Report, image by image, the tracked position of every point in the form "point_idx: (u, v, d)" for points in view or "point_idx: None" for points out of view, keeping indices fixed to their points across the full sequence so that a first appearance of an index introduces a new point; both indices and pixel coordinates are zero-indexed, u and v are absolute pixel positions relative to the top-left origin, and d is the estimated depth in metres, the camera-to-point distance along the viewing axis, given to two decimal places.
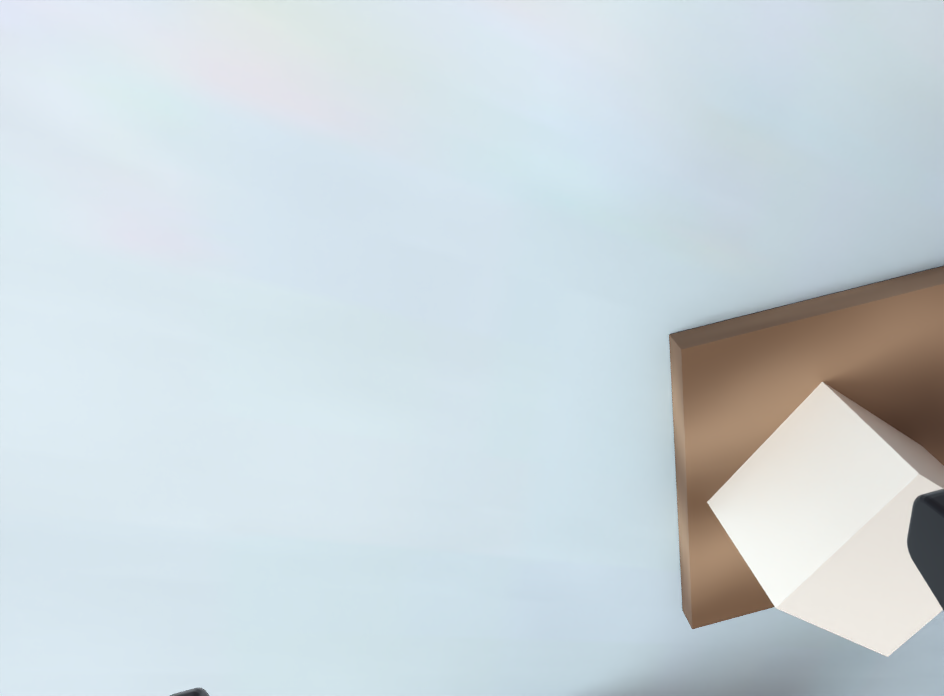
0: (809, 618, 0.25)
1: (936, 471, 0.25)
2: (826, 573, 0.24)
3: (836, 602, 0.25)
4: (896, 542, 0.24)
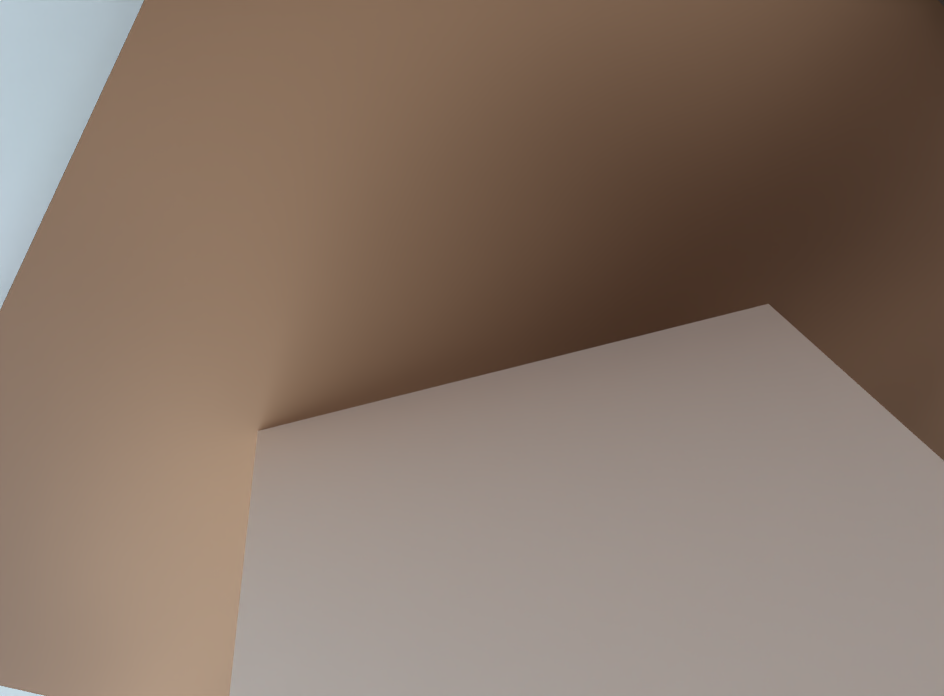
0: None
1: (630, 562, 0.06)
2: None
3: None
4: None
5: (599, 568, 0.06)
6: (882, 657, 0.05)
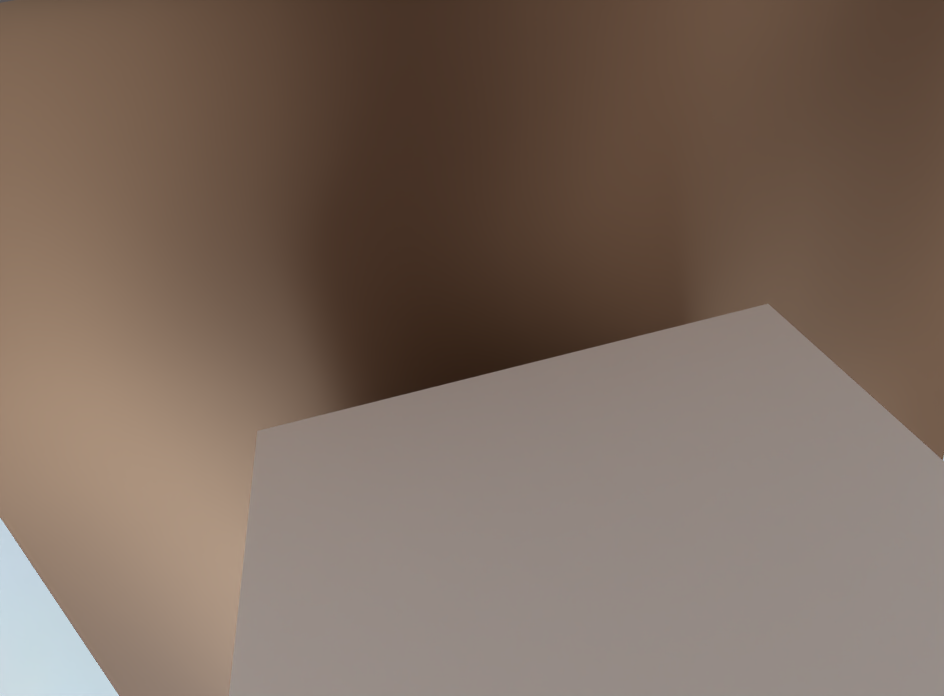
0: None
1: (629, 562, 0.06)
2: None
3: None
4: None
5: (598, 568, 0.06)
6: (881, 657, 0.05)
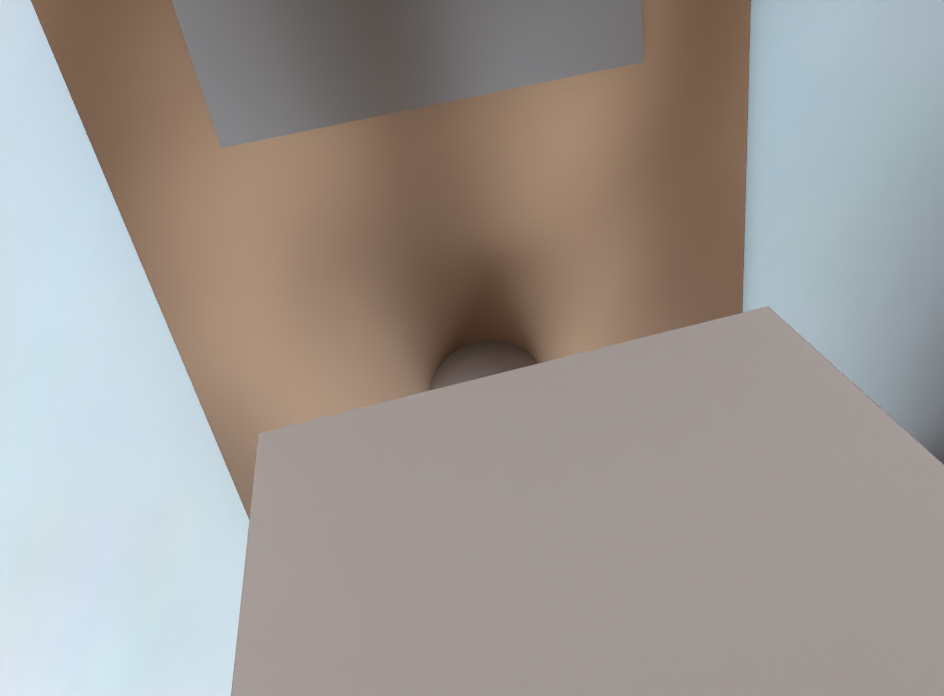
0: None
1: (630, 565, 0.06)
2: None
3: None
4: None
5: (599, 571, 0.06)
6: (881, 660, 0.05)
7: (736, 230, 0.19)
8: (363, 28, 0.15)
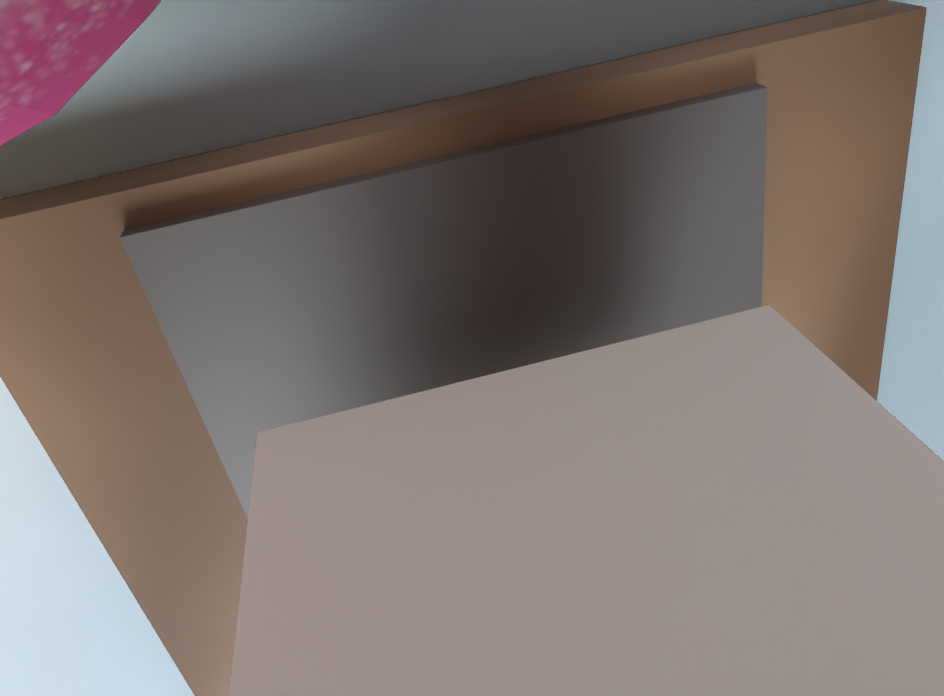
0: None
1: (631, 564, 0.06)
2: None
3: None
4: None
5: (600, 571, 0.06)
6: (884, 661, 0.05)
7: None
8: None
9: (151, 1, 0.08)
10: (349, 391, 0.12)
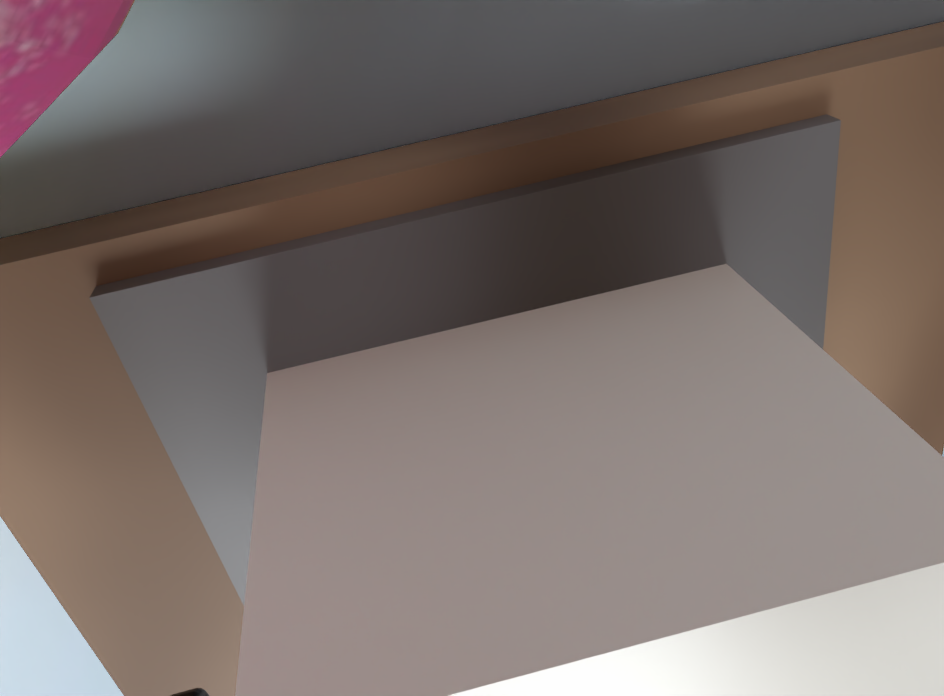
0: None
1: (591, 468, 0.07)
2: None
3: None
4: None
5: (564, 473, 0.07)
6: (795, 532, 0.06)
7: None
8: None
9: (101, 35, 0.06)
10: None
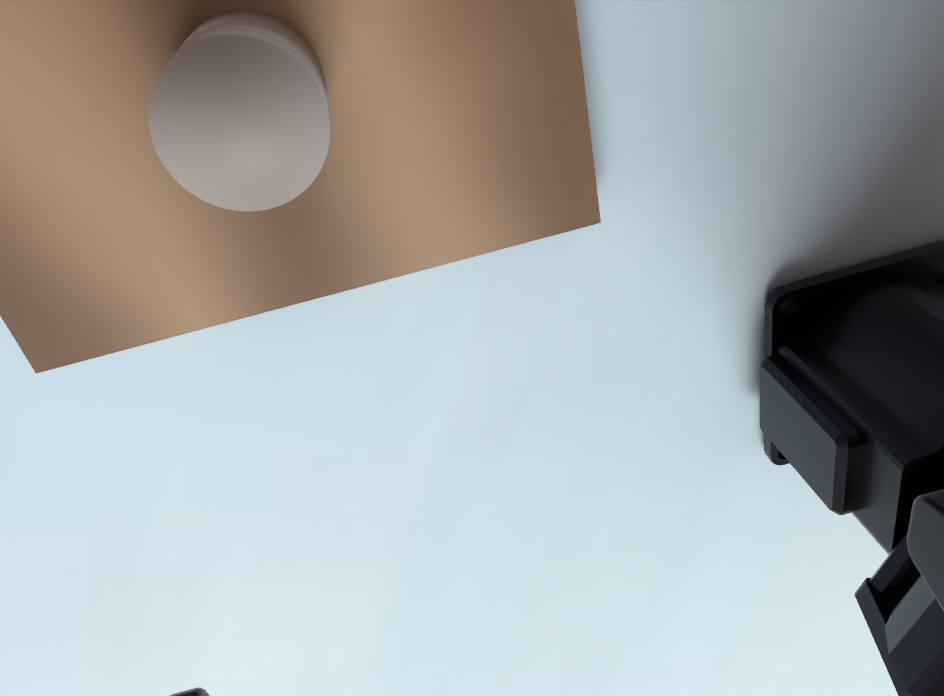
0: None
1: None
2: None
3: None
4: None
5: None
6: None
7: None
8: None
9: None
10: None
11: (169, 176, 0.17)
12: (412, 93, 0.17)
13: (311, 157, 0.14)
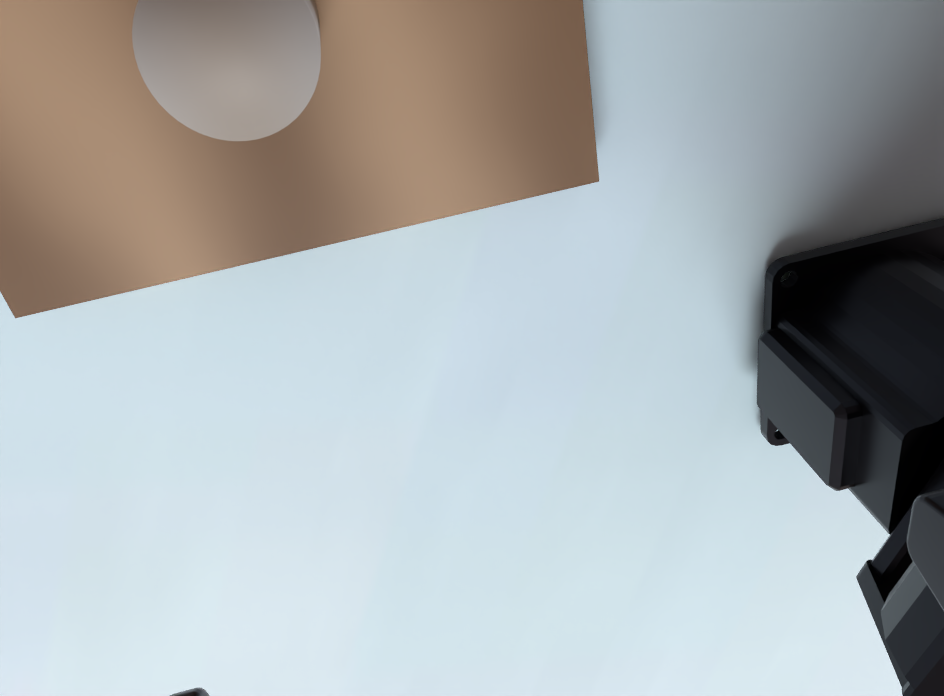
0: None
1: None
2: None
3: None
4: None
5: None
6: None
7: None
8: None
9: None
10: None
11: (156, 114, 0.16)
12: (409, 36, 0.16)
13: (301, 85, 0.13)
